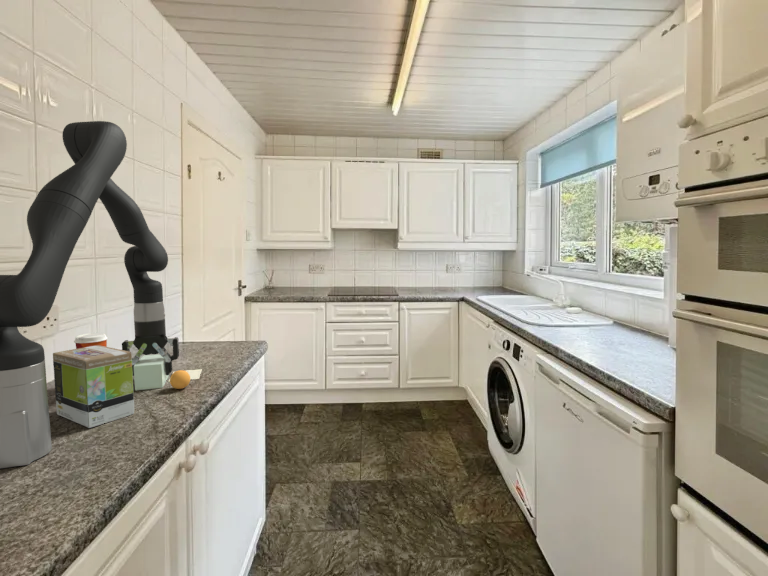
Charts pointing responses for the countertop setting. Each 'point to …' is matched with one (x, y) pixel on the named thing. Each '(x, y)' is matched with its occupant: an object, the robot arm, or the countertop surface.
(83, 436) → the countertop surface
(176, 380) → the ball
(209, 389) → the countertop surface
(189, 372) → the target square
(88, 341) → the paper cup
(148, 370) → the mint green rectangular block
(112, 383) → the tea box
